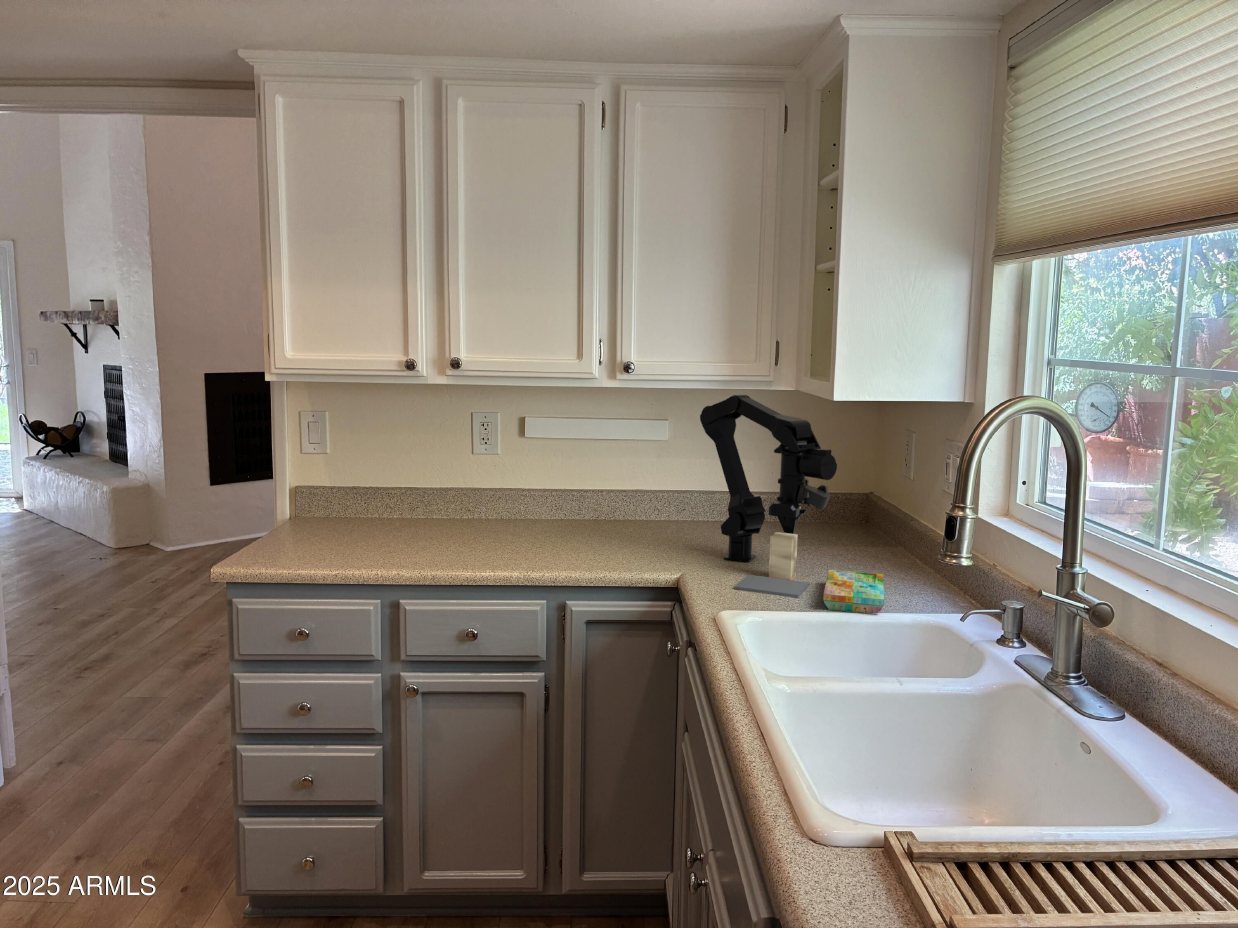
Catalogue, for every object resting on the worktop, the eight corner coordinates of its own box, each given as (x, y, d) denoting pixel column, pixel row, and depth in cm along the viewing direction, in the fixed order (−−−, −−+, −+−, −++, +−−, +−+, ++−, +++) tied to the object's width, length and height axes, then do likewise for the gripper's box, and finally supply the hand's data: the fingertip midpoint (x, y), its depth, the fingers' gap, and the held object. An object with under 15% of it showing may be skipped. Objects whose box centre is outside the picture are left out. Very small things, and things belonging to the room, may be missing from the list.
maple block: (774, 574, 214) (776, 532, 213) (795, 576, 212) (797, 534, 211) (768, 579, 210) (770, 536, 208) (790, 582, 208) (792, 538, 206)
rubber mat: (748, 577, 211) (748, 574, 211) (809, 585, 206) (809, 582, 205) (734, 589, 201) (734, 586, 201) (798, 597, 196) (798, 594, 195)
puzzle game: (823, 589, 186) (828, 565, 205) (822, 612, 187) (827, 586, 206) (884, 595, 183) (883, 570, 202) (882, 617, 184) (882, 591, 203)
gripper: (819, 482, 201) (816, 552, 204) (835, 471, 218) (832, 536, 220) (769, 478, 206) (766, 547, 208) (789, 468, 223) (786, 531, 225)
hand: (790, 540), depth 215 cm, fingers closed
